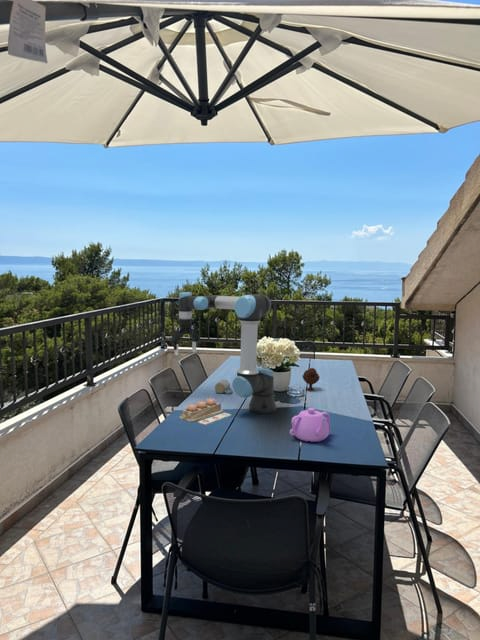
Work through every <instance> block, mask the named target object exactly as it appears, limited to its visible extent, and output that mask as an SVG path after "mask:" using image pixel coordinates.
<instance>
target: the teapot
mask: <svg viewBox="0 0 480 640" xmlns="http://www.w3.org/2000/svg"><path fill="white" fill-rule="evenodd" d="M324 415H326V417H325V416H324ZM330 420H331V416H330V414H329V413H328V412H326V411H322V412H321V411H318V410H316V408H314V407H308V408H307V409H305V410H301V411H300V412H299V413H298V415H297V414H296V415H294V416H293V417H291V427H292V428H291V429H290V430H289V434H290V435H291V436H295V438H296V439H298V440H301V441H304V442H308V441H310V443H311V442H321V441H324V440H325V439H327V438H328V436H329V435H330V430H331V429H332V426H331V424H329V423H330Z"/></svg>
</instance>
